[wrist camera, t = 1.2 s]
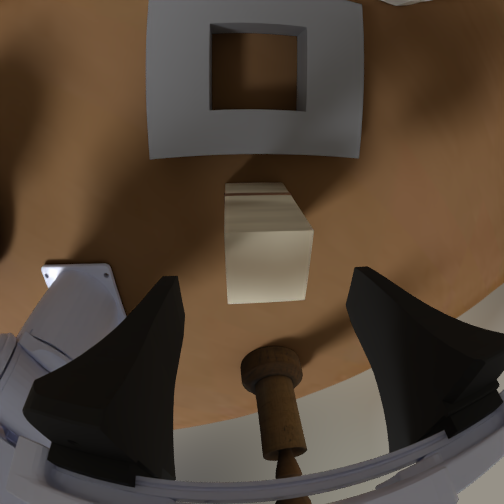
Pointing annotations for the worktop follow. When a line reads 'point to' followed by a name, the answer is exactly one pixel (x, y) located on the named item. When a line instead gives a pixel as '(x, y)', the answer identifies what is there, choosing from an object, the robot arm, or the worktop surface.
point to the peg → (265, 244)
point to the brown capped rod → (277, 408)
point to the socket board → (254, 120)
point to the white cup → (403, 2)
